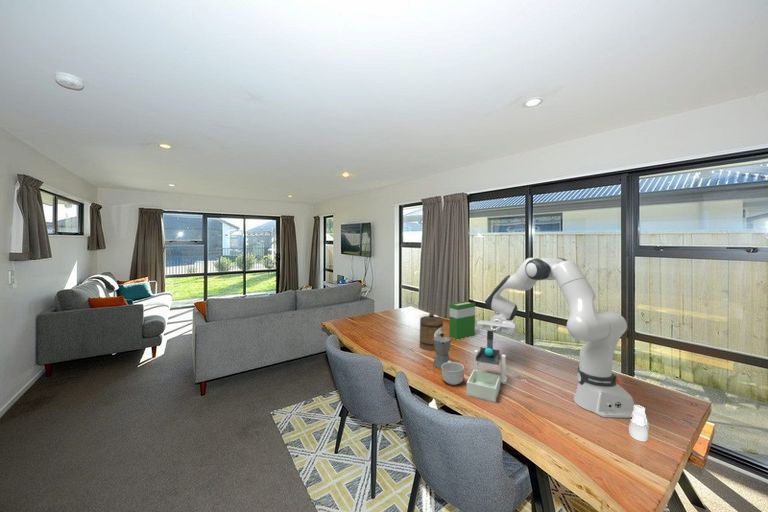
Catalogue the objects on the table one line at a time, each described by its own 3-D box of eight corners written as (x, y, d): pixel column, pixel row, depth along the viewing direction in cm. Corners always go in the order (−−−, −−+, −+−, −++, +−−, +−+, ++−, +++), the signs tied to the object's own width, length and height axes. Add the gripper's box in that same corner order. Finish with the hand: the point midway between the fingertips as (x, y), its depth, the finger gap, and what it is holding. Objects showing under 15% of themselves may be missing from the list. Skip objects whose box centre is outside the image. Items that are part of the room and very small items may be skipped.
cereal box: (466, 332, 218) (467, 300, 216) (474, 335, 211) (475, 302, 210) (449, 337, 208) (449, 303, 207) (457, 340, 202) (457, 305, 201)
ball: (492, 356, 145) (492, 348, 146) (493, 357, 141) (494, 348, 142) (483, 355, 146) (484, 347, 147) (484, 355, 142) (485, 347, 143)
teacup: (464, 388, 137) (464, 371, 136) (441, 386, 139) (441, 369, 138) (462, 374, 150) (462, 359, 150) (441, 373, 152) (441, 358, 152)
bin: (500, 387, 137) (500, 375, 137) (495, 402, 125) (495, 388, 124) (473, 381, 143) (473, 369, 143) (466, 395, 131) (466, 382, 130)
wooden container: (441, 351, 181) (441, 316, 180) (417, 349, 186) (417, 315, 184) (444, 343, 195) (444, 311, 194) (422, 341, 200) (422, 309, 199)
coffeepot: (452, 371, 154) (452, 337, 153) (434, 370, 155) (434, 337, 154) (448, 359, 170) (448, 328, 169) (432, 358, 171) (432, 328, 170)
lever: (501, 362, 149) (502, 330, 149) (496, 374, 133) (497, 337, 134) (481, 359, 154) (482, 327, 154) (474, 369, 138) (475, 334, 139)
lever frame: (507, 378, 146) (507, 354, 145) (505, 384, 141) (506, 358, 140) (474, 371, 153) (474, 348, 153) (471, 376, 148) (472, 352, 148)
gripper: (479, 316, 173) (474, 322, 161) (516, 320, 163) (514, 327, 151) (479, 327, 173) (473, 333, 161) (516, 331, 164) (514, 339, 151)
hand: (493, 330), depth 156 cm, fingers closed
